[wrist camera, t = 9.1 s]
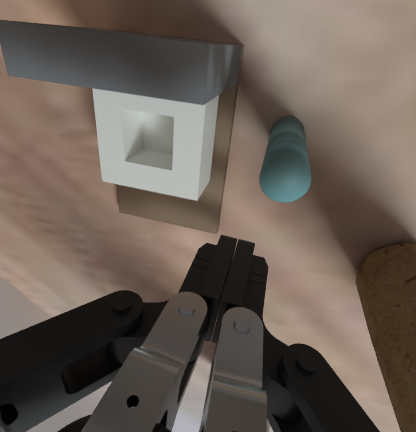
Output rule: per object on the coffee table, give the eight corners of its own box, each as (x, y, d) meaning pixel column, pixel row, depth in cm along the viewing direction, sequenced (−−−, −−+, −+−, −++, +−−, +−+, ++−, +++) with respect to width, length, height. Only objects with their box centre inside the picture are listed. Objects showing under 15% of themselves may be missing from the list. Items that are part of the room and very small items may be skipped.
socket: (209, 180, 32) (197, 200, 28) (126, 164, 33) (102, 181, 29) (220, 81, 26) (206, 87, 22) (120, 67, 28) (90, 71, 24)
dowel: (299, 151, 29) (303, 206, 19) (267, 146, 30) (255, 197, 20) (308, 119, 27) (317, 160, 17) (274, 114, 28) (264, 151, 18)
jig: (218, 229, 36) (186, 307, 25) (123, 208, 38) (56, 272, 27) (243, 45, 26) (208, 44, 15) (111, 30, 28) (-6, 19, 17)
